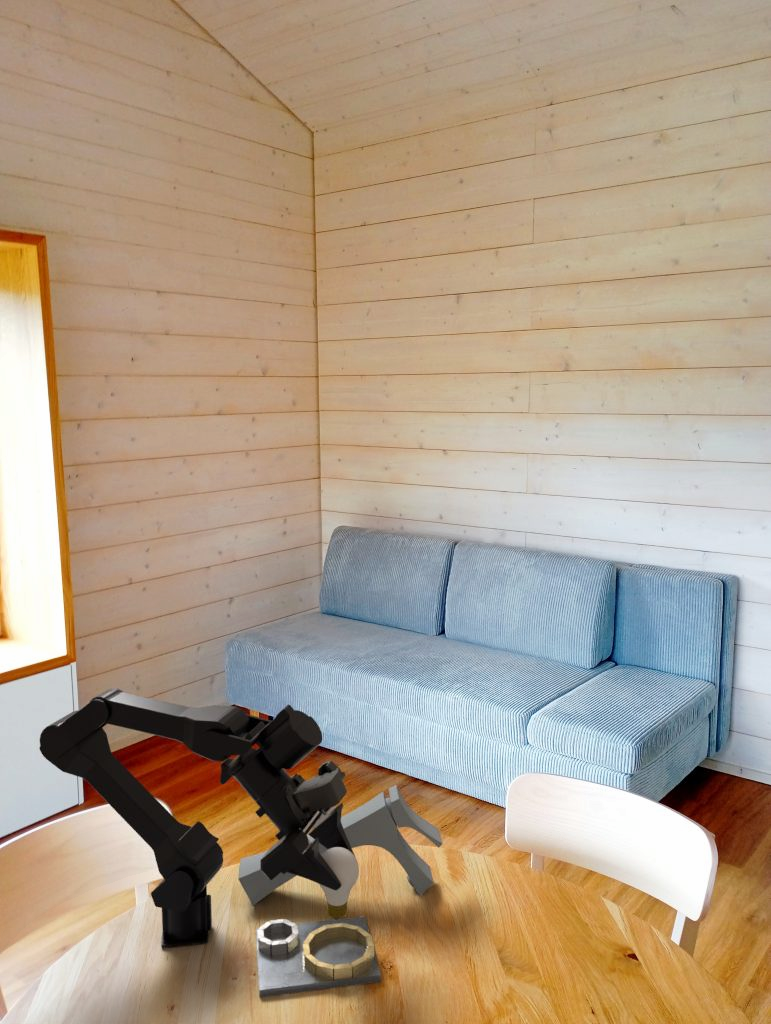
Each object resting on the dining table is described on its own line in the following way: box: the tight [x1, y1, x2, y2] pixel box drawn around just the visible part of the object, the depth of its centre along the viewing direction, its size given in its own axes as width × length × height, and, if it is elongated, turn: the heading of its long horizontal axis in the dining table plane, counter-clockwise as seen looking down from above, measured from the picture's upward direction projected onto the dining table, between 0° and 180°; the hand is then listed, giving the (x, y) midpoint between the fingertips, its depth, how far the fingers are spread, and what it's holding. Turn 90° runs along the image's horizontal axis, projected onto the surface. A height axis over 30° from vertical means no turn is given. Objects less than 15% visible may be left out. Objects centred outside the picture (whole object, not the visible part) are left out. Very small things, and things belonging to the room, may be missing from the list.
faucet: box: [237, 784, 443, 906], centre depth 134 cm, size 6×17×30 cm
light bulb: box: [318, 847, 360, 920], centre depth 116 cm, size 6×6×10 cm
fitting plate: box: [255, 915, 382, 998], centre depth 118 cm, size 16×13×2 cm
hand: (346, 875), depth 115 cm, fingers closed on light bulb, 6 cm apart
